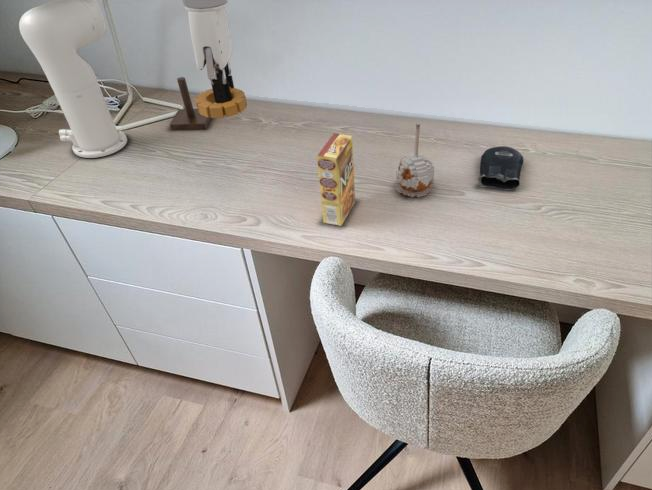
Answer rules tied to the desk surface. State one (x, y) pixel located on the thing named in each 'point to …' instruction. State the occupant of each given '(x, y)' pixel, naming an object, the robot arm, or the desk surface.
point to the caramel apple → (415, 172)
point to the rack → (188, 112)
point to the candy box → (336, 178)
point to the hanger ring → (220, 104)
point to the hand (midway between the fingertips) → (225, 98)
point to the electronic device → (500, 168)
